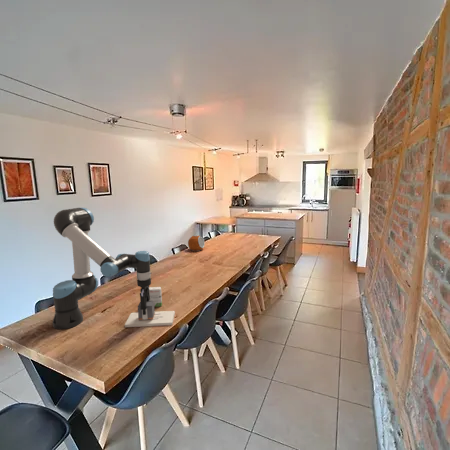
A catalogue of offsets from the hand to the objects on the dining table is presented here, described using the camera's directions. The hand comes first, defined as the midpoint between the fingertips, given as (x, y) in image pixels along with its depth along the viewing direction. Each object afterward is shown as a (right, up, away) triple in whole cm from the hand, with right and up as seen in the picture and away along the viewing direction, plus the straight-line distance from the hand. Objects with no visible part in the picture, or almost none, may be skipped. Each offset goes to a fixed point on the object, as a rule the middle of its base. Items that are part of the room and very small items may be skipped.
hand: (146, 316), depth 160 cm
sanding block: (0, 0, 0) cm, 0 cm away
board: (+3, -2, +1) cm, 4 cm away
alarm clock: (+13, +24, +161) cm, 163 cm away
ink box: (0, +1, +19) cm, 19 cm away
